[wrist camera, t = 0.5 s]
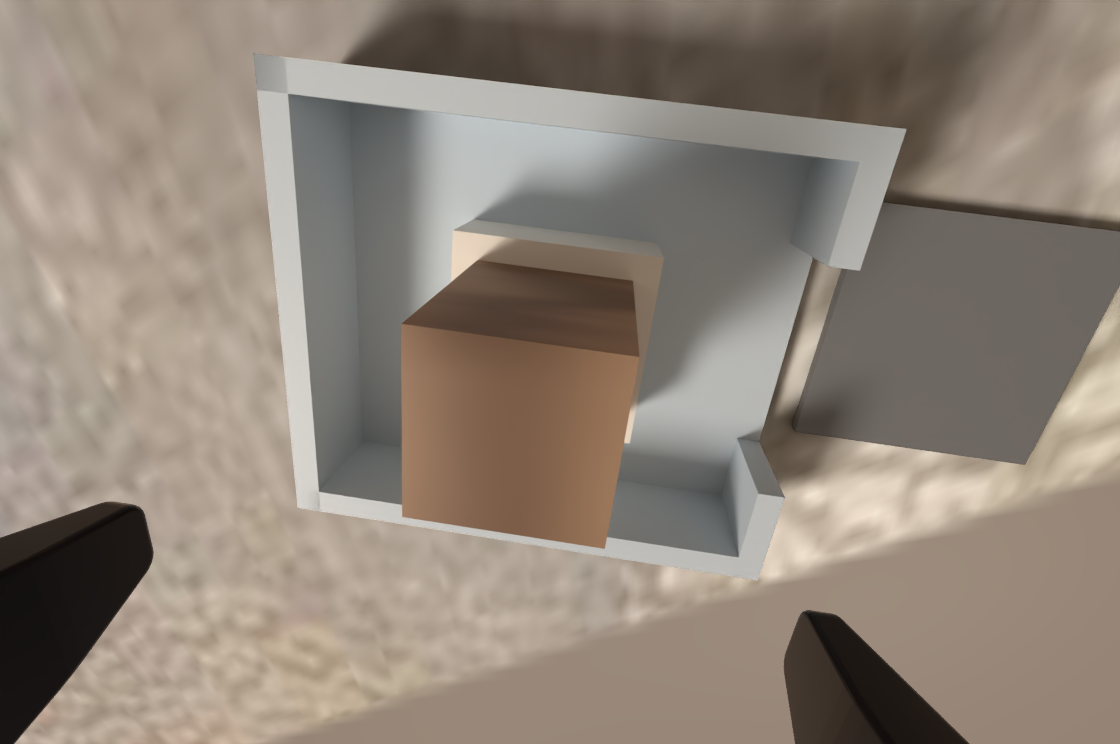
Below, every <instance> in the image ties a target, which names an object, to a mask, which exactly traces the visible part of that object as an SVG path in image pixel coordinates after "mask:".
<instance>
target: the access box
mask: <svg viewBox="0 0 1120 744" xmlns="http://www.w3.org/2000/svg"><path fill="white" fill-rule="evenodd" d="M253 54H254V65H255V75H256V85H257V95H258V106H259V116H260V126H261V136H262V147H263V157H264V167H265V177H266V188H267V198H268V208H269V218H270V229H271V239H272V249H273V259H274V270H275V280H276V290H277V300H278V311H279V321H280V331H281V341H282V352H283V362H284V372H285V382H286V393H287V403H288V413H289V423H290V434H291V444H292V454H293V464H294V475H295V485H296V495H297V505H298V508H303V509H309V510H315V511H322V512H328V513H334V514H341V515H347V516H353V517H360V518H366V519H372V520H379V521H385V522H391V523H398V524H404V525H410V526H416V527H423V528H429V529H435V530H442V531H448V532H454V533H461V534H467V535H473V536H480V537H486V538H492V539H499V540H505V541H511V542H517V543H524V544H530V545H536V546H543V547H549V548H555V549H562V550H568V551H574V552H581V553H587V554H593V555H600V556H606V557H612V558H619V559H625V560H631V561H637V562H644V563H650V564H656V565H663V566H669V567H675V568H682V569H688V570H694V571H701V572H707V573H713V574H720V575H726V576H732V577H738V578H745V579H751V580H757V581H758V578H759V575H760V572H761V569H762V566H763V563H764V560H765V557H766V554H767V551H768V548H769V545H770V541H771V538H772V535H773V532H774V529H775V526H776V523H777V520H778V517H779V514H780V511H781V508H782V505H783V502H784V499H785V497H784V495H783V492H782V490H781V488H780V486H779V484H778V481H777V479H776V477H775V475H774V473H773V471H772V468H771V466H770V464H769V462H768V460H767V458H766V455H765V453H764V451H763V449H762V447H761V444H760V442H759V440H760V437H761V434H762V430H763V427H764V423H765V420H766V416H767V413H768V410H769V406H770V403H771V399H772V396H773V393H774V389H775V386H776V382H777V379H778V376H779V372H780V369H781V365H782V362H783V358H784V355H785V352H786V348H787V345H788V341H789V338H790V335H791V331H792V328H793V324H794V321H795V318H796V314H797V311H798V307H799V304H800V301H801V297H802V294H803V290H804V287H805V283H806V280H807V277H808V273H809V270H810V266H811V263H812V260H813V258H815V259H816V260H818V261H820V262H821V263H823V264H825V265H826V266H828V267H835V268H843V269H851V270H859V271H860V269H861V266H862V263H863V260H864V257H865V254H866V251H867V248H868V245H869V242H870V239H871V236H872V233H873V230H874V227H875V224H876V221H877V218H878V215H879V211H880V208H881V205H882V202H883V199H884V196H885V193H886V190H887V187H888V184H889V181H890V178H891V175H892V172H893V169H894V166H895V163H896V160H897V157H898V154H899V151H900V148H901V145H902V142H903V139H904V136H905V133H906V130H907V129H902V128H893V127H885V126H876V125H867V124H859V123H850V122H842V121H833V120H824V119H816V118H807V117H798V116H790V115H781V114H772V113H764V112H755V111H747V110H738V109H729V108H721V107H712V106H703V105H695V104H686V103H678V102H669V101H660V100H652V99H643V98H634V97H626V96H617V95H608V94H600V93H591V92H583V91H574V90H565V89H557V88H548V87H539V86H531V85H522V84H513V83H505V82H496V81H488V80H479V79H470V78H462V77H453V76H444V75H436V74H427V73H419V72H410V71H401V70H393V69H384V68H375V67H367V66H358V65H349V64H341V63H332V62H324V61H315V60H306V59H298V58H289V57H280V56H272V55H263V54H255V53H253ZM477 260H480V261H488V262H495V263H503V264H511V265H518V266H526V267H533V268H541V269H548V270H556V271H563V272H571V273H578V274H586V275H593V276H601V277H609V278H616V279H624V280H631V281H633V287H634V299H635V311H636V322H637V334H638V346H639V362H638V368H637V374H636V379H635V385H634V390H633V396H632V401H631V407H630V412H629V418H628V423H627V429H626V434H625V440H624V446H623V451H622V457H621V462H620V468H619V473H618V479H617V484H616V490H615V495H614V501H613V506H612V512H611V518H610V523H609V529H608V534H607V540H606V545H605V549H602V548H595V547H589V546H583V545H576V544H570V543H564V542H557V541H551V540H545V539H538V538H532V537H526V536H519V535H513V534H507V533H500V532H494V531H488V530H481V529H475V528H469V527H462V526H456V525H450V524H443V523H437V522H431V521H424V520H418V519H412V518H405V517H402V397H401V323H403V322H404V321H405V320H406V319H407V318H409V317H410V316H411V315H412V314H413V313H415V312H416V311H417V310H418V309H419V308H421V307H422V306H423V305H424V304H425V303H427V302H428V301H429V300H430V299H431V298H433V297H434V296H435V295H436V294H437V293H439V292H440V291H441V290H442V289H443V288H445V287H446V286H447V285H448V284H449V283H451V282H452V281H453V280H454V279H455V278H457V277H458V276H459V275H460V274H461V273H463V272H464V271H465V270H466V269H467V268H469V267H470V266H471V265H472V264H473V263H475V262H476V261H477Z"/></svg>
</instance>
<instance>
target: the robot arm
mask: <svg viewBox="0 0 1120 744" xmlns="http://www.w3.org/2000/svg"><path fill="white" fill-rule="evenodd" d="M153 553H154V552H153V547H152V542H151V538H150V534H149V530H148V526H147V522H146V518H145V514H144V512H143V510H142V509H141V508H140V507H138V506H136V505H132V504H126V503H119V502H104V503H100V504H97V505H94V506H91V507H88V508H86V509H83V510H80V511H77V512H74V513H71V514H68V515H65V516H62V517H59V518H57V519H54V520H51V521H48V522H45V523H42V524H39V525H36V526H33V527H30V528H27V529H25V530H22V531H19V532H16V533H13V534H10V535H7V536H4V537H1V538H0V744H14V743H15V742H16V741H17V740H18V739H19V738H20V736H21V735H22V734H23V733H24V732H25V730H26V729H27V728H28V727H29V726H30V725H31V723H32V722H33V721H34V720H35V719H36V718H37V716H38V715H39V714H40V713H41V712H42V710H43V709H44V708H45V707H46V706H47V705H48V703H49V702H50V701H51V700H52V699H53V698H54V696H55V695H56V694H57V693H58V692H59V690H60V689H61V688H62V687H63V685H64V684H65V683H66V682H67V681H68V679H69V678H70V677H71V676H72V674H73V673H74V672H75V670H76V669H77V668H78V666H79V665H80V664H81V662H82V661H83V660H84V658H85V657H86V656H87V654H88V653H89V651H90V650H91V649H92V647H93V646H94V644H95V643H96V642H97V640H98V639H99V638H100V636H101V635H102V633H103V632H104V631H105V629H106V628H107V626H108V625H109V624H110V622H111V621H112V620H113V618H114V617H115V615H116V614H117V613H118V611H119V610H120V608H121V607H122V606H123V604H124V603H125V602H126V600H127V599H128V597H129V596H130V595H131V593H132V592H133V590H134V589H135V588H136V586H137V585H138V583H139V582H140V581H141V579H142V578H143V577H144V575H145V574H146V572H147V571H148V569H149V567H150V565H151V563H152V560H153ZM784 675H785V681H786V688H787V694H788V700H789V707H790V714H791V720H792V727H793V733H794V740H795V744H969V743H968V742H967V741H966V740H965V739H964V738H963V737H962V736H961V735H960V734H959V733H958V732H957V731H956V730H955V729H954V728H953V727H952V726H951V725H950V724H949V723H948V722H947V721H946V720H945V719H944V718H943V717H942V716H941V715H940V714H939V713H938V712H937V711H935V710H934V709H933V708H932V707H931V706H930V705H929V704H928V703H927V702H926V701H925V700H924V699H923V698H922V697H921V696H920V695H919V694H918V693H917V692H916V691H915V690H914V689H913V688H912V687H911V686H910V685H909V684H908V683H907V682H906V681H905V680H904V679H903V678H902V677H901V676H900V675H899V674H898V673H897V672H895V670H893V668H892V667H890V666H889V665H888V664H887V663H886V662H885V661H884V660H883V659H882V658H881V657H880V656H879V655H878V654H877V653H876V652H875V651H874V650H873V649H872V648H871V647H870V646H869V645H868V644H867V643H866V642H865V641H864V640H863V639H862V638H861V637H860V636H859V635H858V634H857V633H856V632H855V631H854V630H853V629H851V628H850V626H849V625H847V624H846V623H845V622H844V621H843V620H842V619H841V618H840V617H838V616H837V615H834V614H831V613H825V612H817V611H812V610H806V611H804V612H802V613H801V615H800V616H799V618H798V621H797V623H796V626H795V629H794V631H793V634H792V637H791V640H790V642H789V645H788V648H787V650H786V653H785V658H784Z"/></svg>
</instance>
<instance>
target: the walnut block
mask: <svg viewBox="0 0 1120 744" xmlns="http://www.w3.org/2000/svg"><path fill="white" fill-rule="evenodd" d="M638 362H639V346H638V334H637V322H636V311H635V299H634V287H633V281H631V280H624V279H616V278H609V277H601V276H593V275H586V274H578V273H571V272H563V271H556V270H548V269H541V268H533V267H526V266H518V265H511V264H503V263H495V262H488V261H480V260H477V261H476V262H475V263H473V264H472V265H471V266H470V267H469V268H467V269H466V270H465V271H464V272H463V273H461V274H460V275H459V276H458V277H457V278H455V279H454V280H453V281H452V282H451V283H449V284H448V285H447V286H446V287H445V288H443V289H442V290H441V291H440V292H439V293H437V294H436V295H435V296H434V297H433V298H431V299H430V300H429V301H428V302H427V303H425V304H424V305H423V306H422V307H421V308H419V309H418V310H417V311H416V312H415V313H413V314H412V315H411V316H410V317H409V318H407V319H406V320H405V321H404V322H403V323H401V397H402V517H405V518H412V519H418V520H424V521H431V522H437V523H443V524H450V525H456V526H462V527H469V528H475V529H481V530H488V531H494V532H500V533H507V534H513V535H519V536H526V537H532V538H538V539H545V540H551V541H557V542H564V543H570V544H576V545H583V546H589V547H595V548H602V549H605V545H606V540H607V534H608V529H609V523H610V518H611V512H612V506H613V501H614V495H615V490H616V484H617V479H618V473H619V468H620V462H621V457H622V451H623V446H624V440H625V434H626V429H627V423H628V418H629V412H630V407H631V401H632V396H633V390H634V385H635V379H636V374H637V368H638Z"/></svg>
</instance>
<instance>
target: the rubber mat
mask: <svg viewBox="0 0 1120 744" xmlns="http://www.w3.org/2000/svg"><path fill="white" fill-rule="evenodd" d="M1119 285H1120V231H1116V230H1108V229H1099V228H1091V227H1083V226H1075V225H1067V224H1059V223H1050V222H1042V221H1034V220H1026V219H1018V218H1010V217H1002V216H993V215H985V214H977V213H969V212H961V211H953V210H944V209H936V208H928V207H920V206H912V205H904V204H896V203H887V202H882V205H881V208H880V211H879V215H878V218H877V221H876V224H875V227H874V230H873V233H872V236H871V239H870V242H869V245H868V248H867V251H866V254H865V257H864V260H863V263H862V266H861V269H860V271H859V270H851V269H843V268H842V270H841V273H840V276H839V279H838V282H837V285H836V289H835V292H834V295H833V298H832V301H831V304H830V307H829V311H828V314H827V317H826V320H825V323H824V326H823V330H822V333H821V336H820V339H819V342H818V345H817V349H816V352H815V355H814V358H813V361H812V364H811V368H810V371H809V374H808V377H807V380H806V383H805V386H804V390H803V393H802V396H801V399H800V402H799V405H798V409H797V412H796V415H795V418H794V421H793V424H792V427H793V429H794V431H795V432H801V433H808V434H815V435H822V436H829V437H836V438H843V439H850V440H857V441H864V442H870V443H877V444H884V445H891V446H898V447H905V448H912V449H919V450H926V451H933V452H940V453H947V454H954V455H960V456H967V457H974V458H981V459H988V460H995V461H1002V462H1009V463H1016V464H1023V465H1025V464H1026V462H1027V460H1028V458H1029V456H1030V454H1031V452H1032V451H1033V449H1034V447H1035V445H1036V443H1037V441H1038V439H1039V437H1040V435H1041V433H1042V432H1043V430H1044V428H1045V426H1046V424H1047V422H1048V420H1049V418H1050V416H1051V414H1052V412H1053V411H1054V409H1055V407H1056V405H1057V403H1058V401H1059V399H1060V397H1061V395H1062V393H1063V392H1064V390H1065V388H1066V386H1067V384H1068V382H1069V380H1070V378H1071V376H1072V374H1073V373H1074V371H1075V369H1076V367H1077V365H1078V363H1079V361H1080V359H1081V357H1082V355H1083V353H1084V352H1085V350H1086V348H1087V346H1088V344H1089V342H1090V340H1091V338H1092V336H1093V334H1094V333H1095V331H1096V329H1097V327H1098V325H1099V323H1100V321H1101V319H1102V317H1103V315H1104V314H1105V312H1106V310H1107V308H1108V306H1109V304H1110V302H1111V300H1112V298H1113V296H1114V294H1115V293H1116V291H1117V289H1118V287H1119Z"/></svg>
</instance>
